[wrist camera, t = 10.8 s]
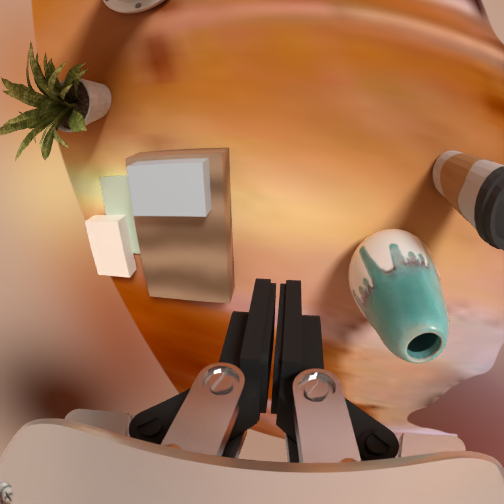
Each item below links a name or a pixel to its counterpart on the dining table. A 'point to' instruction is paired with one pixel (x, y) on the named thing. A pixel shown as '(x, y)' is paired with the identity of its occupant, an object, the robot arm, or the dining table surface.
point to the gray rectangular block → (170, 187)
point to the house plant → (56, 103)
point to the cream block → (111, 245)
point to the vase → (400, 294)
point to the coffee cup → (474, 192)
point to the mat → (120, 203)
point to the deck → (190, 238)
